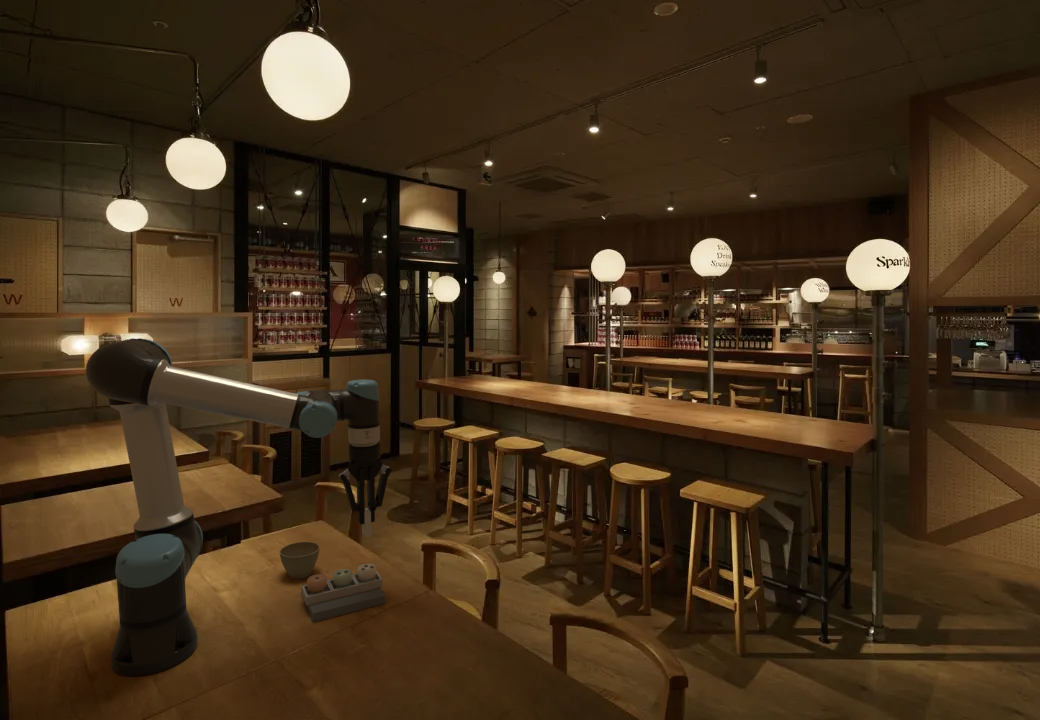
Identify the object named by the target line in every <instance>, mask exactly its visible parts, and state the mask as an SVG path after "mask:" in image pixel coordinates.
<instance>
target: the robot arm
mask: <svg viewBox="0 0 1040 720" xmlns="http://www.w3.org/2000/svg"><path fill="white" fill-rule="evenodd" d="M85 375H86V379H87V381H88V384H89V385H90V387H91V388H92V389H93V390H94V391H95V392H96V393H98V394H99V395H101V396H103V397H105V398H107V399H108V405H109V407H111V408H113V410H116V411H118V412H119V415H120V420H121V424H122V425H121V426H122V431H123V435H124V436H123V437H124V443H125V446H126V452H127V456H128V461H129V465H130V471H131V476H132V483H133V488H134V491H135V492H134V493H135V497H136V498H135V499H136V503H137V508H138V514H139V517H138V518H137V520H136V521H135V522H134V524H133V533H134V536H135V541H130V542H129V543H127V544H126V545H124V547H122V548H121V549H120V550H119V552H118V554H117V556H116V561H115V563H116V564H115V568H114V569H115V572H114V574H115V579H116V589H117V601H118V603H117V604H118V613H119V615H118V617H119V628H118V632H117V634H116V638H115V642H114V644H113V648H112V651H111V657H110V660H111V668H112V670H113V672H114V673H116V674H119V675H121V676H124V677H125V676H127V677H140V676H147V675H151V674H155V673H159V672H161V671H165V670H167V669H168V670H169V669H170V668H173V667H174V666H176V665H179V663H181V662H184V661H185V660H186V659H187V658H189V657H190V656H191V655H192V654H193V653H194V652H195V651H196V649H197V647H198V643H199V640H198V639H199V638H198V630H197V629H196V626H195V624H194V622H193V620H192V618H191V616H190V614H189V612H188V608H187V595H186V578H187V575H188V574H189V573H190V571H191V569H192V567H193V565H194V564H195V561H196V560H197V558H198V557H199V555H200V554H201V550H202V549H203V547H202V546H203V544H204V543H203V541H204V535H203V530H202V528H201V526H200V525H199V523H198V522H197V521H196V520H195V516H194V511H193V509H192V508H190V507H188V506H186V505H185V504H184V503H185V502H184V497H183V492H182V486H181V480H180V475H179V470H178V465H177V459H176V453H175V449H174V442H173V437H172V431H171V425H170V421H169V415H168V410H167V409H168V408H167V405H170V406H175V407H181V408H185V409H191V410H196V411H199V412H200V411H201V412H206V413H210V414H216V415H221V416H226V417H229V418H230V417H231V418H236V419H242V420H246V421H252V422H256V423H261V424H267V425H272V426H276V427H282V428H286V429H292V430H295V431H300V432H303V433H304V435H307V436H308V437H311V438H314V439H317V438H318V439H320V438H323V437H326V436H328V435H330V433H332V431H334V429H335V427H336V425H337V423H338V422H342V421H347V433H348V434H347V435H348V437H347V438H348V443H349V445H348V464H347V467H346V469H345V470H344V471H342V472H339V473H337V476H338V477H339V480H341V482H342V485H343V488H344V491H345V494H346V499H347V502H348V505H349V508H350V509H351V511H352V512H357V521H358V524H359V525H361V526H362V529H361V531H362V536H363V537H364V538H365V539H366V538H371V537H372V523H374V522H375V520H376V517H375V516H376V515H375V514H376V513H375V512H376V510H377V508H378V507H382V505H383V501H384V497H385V492H386V488H387V484H388V478H389V476H391V473H392V472H393V471H392V468H391V467H390V466H388V465H384V464H383V461H382V459H381V443H380V440H381V426H380V425H381V424H380V423H381V422H380V419H381V418H380V392H379V384H378V382H377V381H376V380H373V379H354V380H349V381H347V383H346V387H345V388H343V389H331V390H329V389H327V390H312V389H311V390H306V391H297V392H296V393H294V392H289V391H285V390H282V389H278V388H272V387H267V386H261V385H259V384H254V383H250V382H246V381H245V382H244V381H242V380H241V381H240V380H235V379H231V378H227V377H223V376H218V375H217V376H216V375H214V374H213V375H212V374H210V373H209V374H208V373H203V372H199V371H195V370H190V369H185V368H181V367H177V366H173V361H172V357H171V355H170V353H169V352H168V351H167V349H166V348H165V347H163V346H162V345H161V344H160V343H158V342H157V341H154V340H151V339H147V338H139V337H138V338H133V337H132V338H129V339H123V340H120V341H116V342H110V343H107V344H105V345H103V346H100V347H98V348H97V349H96V350H95V351H94V352H93V353H91V355H90V357H89V358H88V360H87V362H86V365H85ZM379 472H380V476H379V480H378V485H377V489H376V488H375V484H376V477H377V475H378V474H379ZM350 474H351V476H352V477H353V478H354V479H355V481H356V482H355V483H356V499H355V494H354V493H353V488H352V485H351V482H350V478H351V476H350ZM365 481H366V482H365ZM365 484H366V490H367V492H366V495H367V496H366V497H367V498H366V499H367V507H365ZM375 489H376V492H375Z"/></svg>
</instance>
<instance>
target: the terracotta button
mask: <svg viewBox="0 0 1040 720" xmlns="http://www.w3.org/2000/svg"><path fill="white" fill-rule="evenodd" d="M327 580H328V579H327V575H326V574H321V573H320V574H319V573H317V574H313V575H311V576H310V575H309V576H308V578H307V580H306V581H307V582H306V583H307V586H308V592H310V593H319V592H322V591H324V590H326V588H327Z"/></svg>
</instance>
